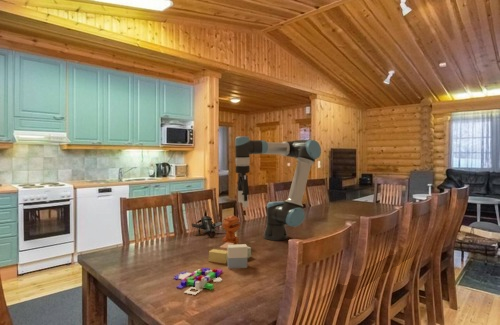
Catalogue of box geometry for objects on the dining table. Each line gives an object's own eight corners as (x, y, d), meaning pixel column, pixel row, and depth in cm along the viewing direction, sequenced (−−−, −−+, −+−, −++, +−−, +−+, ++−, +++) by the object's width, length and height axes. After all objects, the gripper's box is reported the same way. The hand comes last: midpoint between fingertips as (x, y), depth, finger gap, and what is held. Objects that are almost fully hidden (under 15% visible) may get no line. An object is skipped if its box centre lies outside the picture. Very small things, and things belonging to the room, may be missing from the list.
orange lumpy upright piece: (238, 248, 176) (238, 217, 175) (219, 247, 178) (219, 216, 177) (242, 243, 187) (242, 213, 186) (224, 241, 189) (225, 212, 188)
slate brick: (245, 264, 152) (246, 254, 152) (247, 267, 147) (247, 257, 147) (227, 265, 151) (227, 255, 150) (228, 268, 146) (228, 258, 146)
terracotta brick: (226, 251, 172) (226, 242, 171) (234, 252, 170) (234, 243, 170) (219, 256, 163) (219, 246, 163) (227, 257, 162) (227, 248, 161)
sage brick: (244, 255, 166) (244, 245, 166) (250, 257, 163) (251, 247, 163) (232, 259, 159) (232, 249, 159) (239, 261, 156) (239, 251, 156)
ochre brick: (229, 260, 157) (229, 251, 157) (225, 263, 152) (225, 253, 152) (212, 258, 160) (212, 249, 159) (208, 261, 155) (208, 251, 155)
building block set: (192, 267, 148) (192, 258, 148) (231, 275, 140) (231, 265, 140) (157, 288, 125) (157, 277, 125) (201, 299, 117) (202, 287, 117)
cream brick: (245, 254, 152) (246, 244, 152) (247, 257, 147) (247, 246, 147) (227, 255, 150) (227, 244, 150) (228, 258, 146) (228, 247, 146)
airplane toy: (218, 229, 219) (219, 207, 218) (225, 236, 201) (225, 213, 200) (190, 231, 213) (190, 209, 212) (194, 238, 194) (194, 214, 194)
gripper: (232, 164, 179) (232, 201, 180) (239, 167, 154) (240, 209, 155) (244, 163, 180) (245, 200, 181) (254, 166, 156) (254, 208, 157)
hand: (243, 204), depth 168 cm, fingers open, 13 cm apart
